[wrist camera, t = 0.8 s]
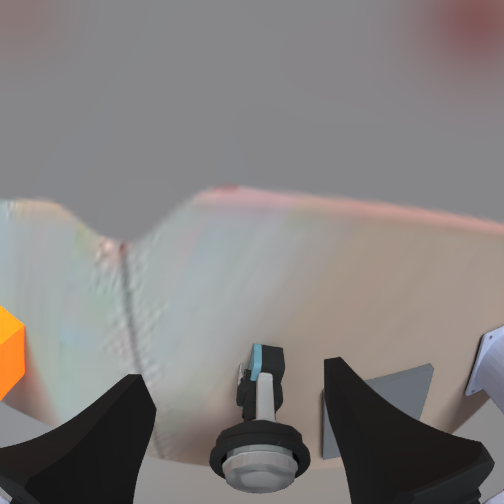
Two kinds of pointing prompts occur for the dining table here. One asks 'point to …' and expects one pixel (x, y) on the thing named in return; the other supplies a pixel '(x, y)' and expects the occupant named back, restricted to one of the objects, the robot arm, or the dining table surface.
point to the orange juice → (10, 351)
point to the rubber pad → (388, 399)
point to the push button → (260, 431)
